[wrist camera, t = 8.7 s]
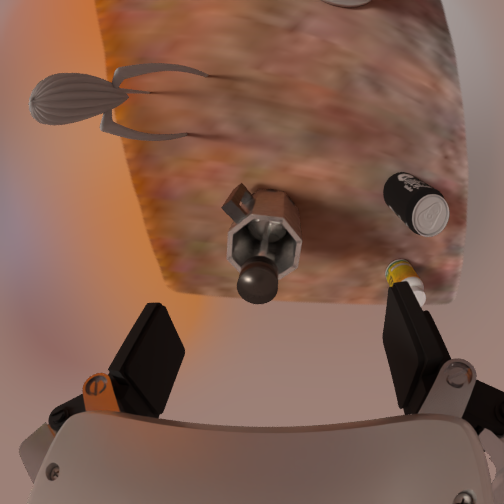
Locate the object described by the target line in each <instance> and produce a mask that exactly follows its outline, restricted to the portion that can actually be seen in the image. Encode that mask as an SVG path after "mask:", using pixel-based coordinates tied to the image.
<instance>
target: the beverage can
mask: <svg viewBox="0 0 504 504" xmlns="http://www.w3.org/2000/svg"><path fill="white" fill-rule="evenodd" d="M383 193H384V199H385V202H386V204H387V205H388V206H389V207H390V208H391V209H392V210H393V211H394V213H395V214H396V215H397V216H398V217H399V218H400V219H401V220H402V221H403V222H404V223H405V224H406V225H407V226H408V227H409V228H410V229H411V230H412V231H413V232H414V233H416V234H418V235H422V236H425V237H432V236H435V235H437V234H439V233H440V232H441V231H442V230H443V229H444V228H445V227H446V225H447V223H448V220H449V207H448V204H447V202H446V201H445V199H444V197H443V195H442V194H441V193H440V192H439V191H437V190H436V189H434V188H433V187H431V186H429V185H428V184H426V183H424V182H423V181H421V180H419V179H417V178H416V177H414V176H412V175H410V174H408V173H405V172H400V173H396V174H394V175H392V176H391V177H390V178H389V179H388V180H387V182H386V184H385V186H384V192H383Z"/></svg>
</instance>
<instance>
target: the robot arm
mask: <svg viewBox="0 0 504 504" xmlns="http://www.w3.org/2000/svg"><path fill="white" fill-rule="evenodd" d="M322 1H324V2H326V3H329V4H332V5H335V6H340V7H358V6H362V5H364V4H367V3H369V2H370V1H371V0H322ZM383 344H384V348H385V351H386V355H387V359H388V363H389V367H390V371H391V375H392V379H393V383H394V387H395V392H396V396H397V401H398V405H399V408H400V409H402V408H403V409H404V413H405V415H401V416H394V417H386V418H380V419H374V420H366V421H357V422H348V423H339V424H329V425H314V426H296V427H244V426H223V425H209V424H199V423H188V422H180V421H173V420H166V419H159V415H160V414H162V413H163V411H164V409H165V406H166V403H167V401H168V398H169V395H170V392H171V390H172V387H173V384H174V381H175V379H176V376H177V374H178V371H179V368H180V365H181V363H182V360H183V357H184V355H185V349H184V346H183V344H182V342H181V340H180V338H179V336H178V333H177V331H176V329H175V327H174V325H173V323H172V321H171V318H170V316H169V314H168V311H167V309H166V307H165V306H163V305H162V304H161V303H147V305H146V306H145V308H144V309H143V311H142V313H141V314H140V316H139V318H138V319H137V321H136V323H135V324H134V326H133V327H132V329H131V331H130V332H129V334H128V336H127V337H126V339H125V341H124V343H123V344H122V346H121V348H120V349H119V351H118V353H117V355H116V356H115V358H114V360H113V362H112V363H111V365H110V367H109V369H108V370H109V374H108V375H107V374H105V373H97V374H94V375H92V376H90V377H89V378H88V379H87V380H86V382H85V383H84V385H83V390H82V391H83V394H81V395H79V396H77V397H76V398H74V399H72V400H70V401H68V402H66V403H64V404H62V405H60V406H58V407H56V408H55V409H54V410H53V411H52V412H51V414H50V416H49V424H47V423H46V422H45V423H44V424H43V425H42V426H41V427H40V428H38V429H37V430H36V431H35V432H34V433H33V434H31V435H30V436H29V437H28V438H27V439H26V440H24V441H23V442H22V444H21V446H20V449H19V453H20V457H21V459H22V461H23V464H24V466H25V468H26V470H27V472H28V474H29V476H30V478H31V480H32V482H33V484H34V485H33V487H32V490H31V493H30V496H29V499H28V502H27V504H504V392H503V391H500V390H498V389H496V388H494V387H492V386H489V385H487V384H485V383H483V382H480V381H479V380H476V371H475V369H474V367H473V366H472V365H471V364H470V363H469V362H468V361H466V360H463V359H451V357H450V355H449V353H448V351H447V348H446V346H445V344H444V342H443V339H442V337H441V335H440V333H439V331H438V329H437V327H436V325H435V322H434V320H433V318H432V316H431V314H430V313H429V311H423V310H422V308H421V306H420V304H419V302H418V300H417V298H416V296H415V294H414V292H413V291H412V289H411V287H410V285H409V283H408V282H407V281H402V282H395V283H393V286H392V287H389V289H388V298H387V307H386V315H385V322H384V330H383ZM408 414H409V415H408ZM485 451H486V452H487V453H488V454H489V455H490V456H491V457H490V458H489V459H490V460H491V461H492V462H493V463H494V465H495V467H496V476H495V479H494V480H493V482H492V483H491V478H490V473H489V469H488V464H487V460H486V456H485V453H484V452H485ZM457 494H458V495H457Z"/></svg>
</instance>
